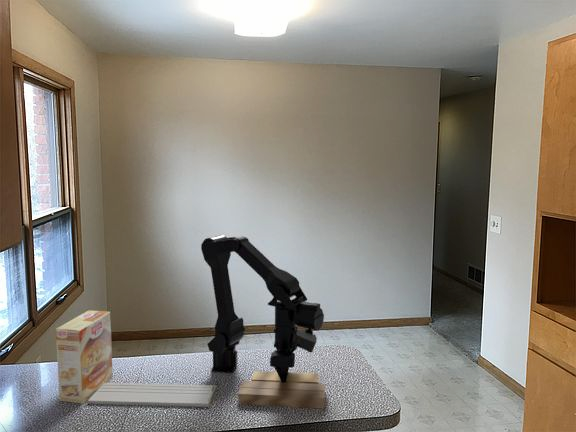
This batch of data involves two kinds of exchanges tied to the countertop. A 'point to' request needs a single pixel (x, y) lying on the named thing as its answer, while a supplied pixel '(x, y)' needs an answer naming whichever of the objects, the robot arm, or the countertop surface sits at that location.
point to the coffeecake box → (84, 355)
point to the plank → (291, 377)
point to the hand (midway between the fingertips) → (285, 377)
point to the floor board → (282, 394)
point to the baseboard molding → (154, 394)
